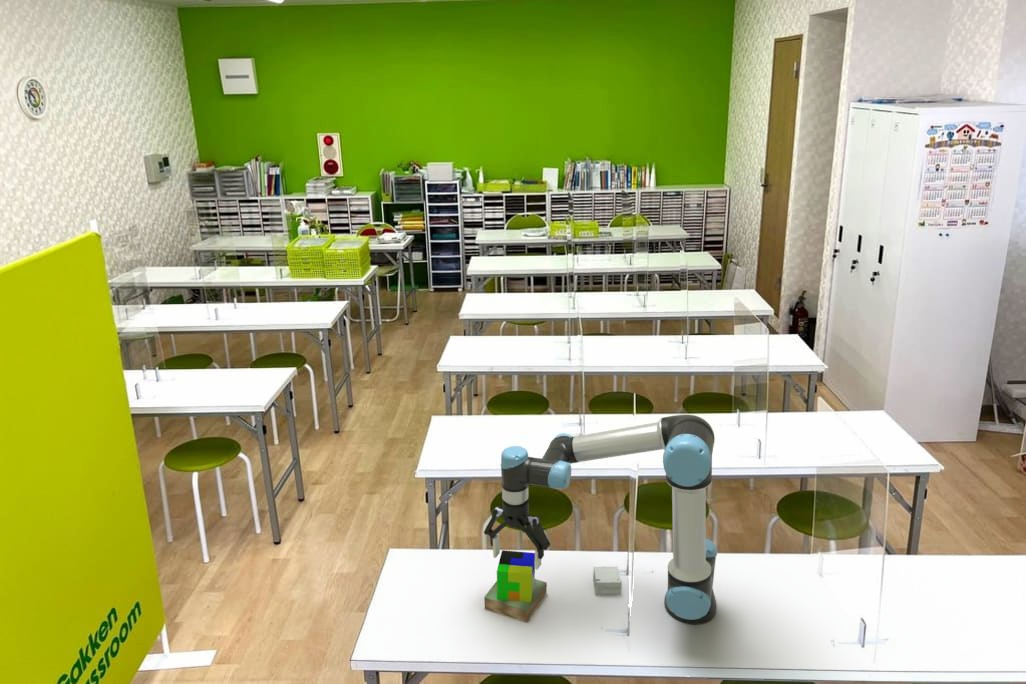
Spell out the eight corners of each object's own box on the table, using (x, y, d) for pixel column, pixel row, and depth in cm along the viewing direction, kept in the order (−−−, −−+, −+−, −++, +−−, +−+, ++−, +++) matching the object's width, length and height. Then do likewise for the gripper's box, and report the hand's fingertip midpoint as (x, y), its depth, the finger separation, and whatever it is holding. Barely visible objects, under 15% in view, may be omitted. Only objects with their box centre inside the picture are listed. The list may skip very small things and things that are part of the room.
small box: (617, 579, 241) (618, 565, 239) (620, 596, 234) (621, 582, 232) (592, 579, 241) (593, 565, 239) (595, 596, 234) (595, 582, 232)
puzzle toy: (534, 580, 234) (534, 552, 230) (530, 602, 224) (531, 574, 221) (502, 577, 235) (502, 550, 231) (497, 599, 226) (496, 571, 222)
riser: (546, 593, 234) (546, 582, 233) (527, 622, 222) (527, 610, 221) (505, 581, 240) (505, 569, 238) (484, 608, 228) (484, 597, 227)
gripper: (561, 501, 216) (561, 564, 224) (482, 483, 227) (485, 543, 234) (550, 515, 210) (551, 579, 217) (470, 495, 220) (473, 557, 228)
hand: (517, 560), depth 226 cm, fingers open, 13 cm apart
